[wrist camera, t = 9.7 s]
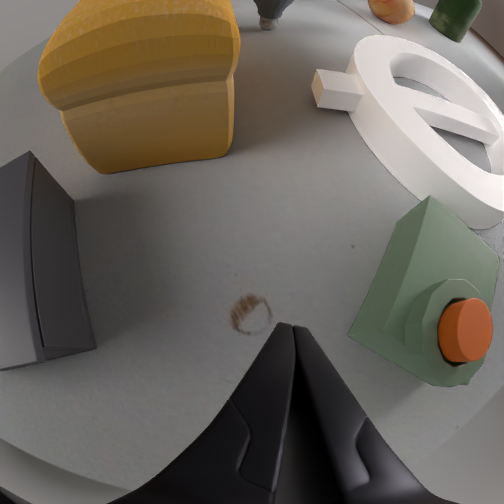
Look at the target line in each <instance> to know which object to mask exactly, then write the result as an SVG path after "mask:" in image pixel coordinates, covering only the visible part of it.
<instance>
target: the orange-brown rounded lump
mask: <svg viewBox="0 0 504 504" xmlns="http://www.w3.org/2000/svg"><path fill="white" fill-rule="evenodd" d="M368 4H369V7H370V9H371V11H372V12H373V14H374V15H376V16H377V17H379V18H380V19H382V20H384V21H386V22H387V23H390V24H402V23H405V22H407V21H409V20H410V19H411V18H412V17H413V16H414V14H415V7H414V4H413V1H412V0H368Z"/></svg>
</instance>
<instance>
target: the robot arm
mask: <svg viewBox="0 0 504 504" xmlns="http://www.w3.org/2000/svg"><path fill="white" fill-rule="evenodd" d="M366 416H367V415H366V413H365V412H364V410H363V409H362V408H361V406H360V405H359V403H358V402H357V400H356V399H355V397H354V396H353V394H352V393H351V391H350V390H349V388H348V387H347V385H346V384H345V383H344V381H343V380H342V378H341V377H340V375H339V374H338V372H337V371H336V369H335V368H334V366H333V365H332V363H331V362H330V361H329V359H328V358H327V356H326V355H325V353H324V352H323V350H322V349H321V347H320V346H319V344H318V343H317V341H316V340H315V339H314V337H313V336H312V334H311V333H310V331H309V330H308V329H307V328H306V327H301V326H296V325H294V326H292V325H291V324H287V323H282V322H279V323H277V325H276V327H275V328H274V330H273V331H272V333H271V335H270V336H269V338H268V339H267V341H266V343H265V344H264V346H263V347H262V349H261V351H260V352H259V354H258V355H257V357H256V358H255V360H254V361H253V363H252V365H251V366H250V368H249V369H248V371H247V372H246V374H245V375H244V377H243V378H242V380H241V381H240V383H239V384H238V386H237V387H236V389H235V390H234V392H233V393H232V395H231V396H230V398H229V400H227V402H226V403H225V405H224V406H223V407H222V409H221V410H220V412H219V413H218V414H217V416H216V417H215V418H214V419H213V421H212V422H211V423H210V425H209V426H208V427H207V428H206V429H205V430H204V431H203V432H202V433H201V434H200V435H199V436H198V437H197V438H196V440H195V441H193V442H192V443H191V444H190V445H189V446H188V447H187V448H186V449H185V450H184V451H183V452H182V453H181V454H180V455H179V456H178V457H176V458H175V459H174V460H173V461H172V462H171V463H170V464H169V465H168V466H167V467H165V468H164V469H163V470H162V471H161V472H160V473H159V474H157V475H156V476H155V477H154V478H152V479H151V480H150V481H148V482H147V483H145V484H144V485H143V486H141V487H139V488H138V489H136V490H134V491H132V492H130V493H128V494H126V495H124V496H122V497H120V498H118V499H116V500H114V501H112V502H110V503H107V504H458V503H455V502H451V501H448V500H444V499H442V498H439V497H437V496H435V495H434V494H432V493H431V492H429V491H428V490H427V489H426V488H425V487H424V486H423V485H422V484H421V483H420V482H419V481H418V480H417V479H416V477H415V476H414V475H413V474H412V473H411V472H410V470H409V469H408V468H407V467H406V466H405V465H404V463H403V462H402V461H401V460H400V459H399V458H398V457H397V455H396V454H395V453H394V452H393V450H392V449H391V448H390V447H389V445H388V444H387V443H386V442H385V440H384V439H383V438H382V436H381V435H380V433H379V432H378V431H377V429H376V428H375V426H374V425H373V424H372V422H371V421H370V419H369V418H368V417H366ZM0 504H31V503H30V502H27V501H26V500H24V499H22V498H20V497H18V496H16V495H15V494H13V493H11V492H10V491H8V490H6V489H4V488H3V487H0Z"/></svg>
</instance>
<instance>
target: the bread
mask: <svg viewBox="0 0 504 504" xmlns="http://www.w3.org/2000/svg"><path fill="white" fill-rule="evenodd" d="M240 47H241V45H240V32H239V29H238V25H237V22H236V18H235V15H234V11H233V8H232V5H231V1H230V0H80V1H79V2H78V3H77V4H76V5H75V6H74V8H73V9H72V10H71V11H70V12H69V13H68V14H67V16H66V17H65V18H64V19H63V21H62V22H61V23H60V25H59V26H58V28H57V29H56V31H55V32H54V33H53V35H52V36H51V38H50V40H49V42H48V44H47V45H46V47H45V49H44V51H43V53H42V56H41V60H40V63H39V67H38V78H37V81H38V85H39V88H40V91H41V93H42V95H43V96H44V97H45V99H46V100H47V101H48V102H49V103H50V104H51V105H52V106H53V107H55V108H57V109H59V110H60V115H61V119H62V122H63V124H64V126H65V128H66V130H67V132H68V134H69V136H70V138H71V140H72V142H73V143H74V145H75V147H76V148H77V150H78V151H79V153H80V154H81V156H82V157H83V158H84V160H85V161H86V162H87V163H88V164H89V165H91V166H92V167H93V168H94V169H95V170H97V171H98V172H99V173H101V174H110V173H115V172H120V171H126V170H131V169H137V168H143V167H149V166H156V165H163V164H170V163H177V162H185V161H193V160H202V159H212V158H219V157H222V156H224V155H226V153H227V152H228V151H229V148H230V146H231V143H232V138H233V125H234V79H233V74H234V72H235V69H236V67H237V64H238V59H239V54H240Z"/></svg>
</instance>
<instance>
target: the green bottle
mask: <svg viewBox="0 0 504 504" xmlns="http://www.w3.org/2000/svg"><path fill="white" fill-rule="evenodd" d="M481 7H482V2H481V0H439V2H438V4H437V5H436V8H435V9H434V11H433V13H432V15H431V17H430V19H429V22H430V23H431V24H432V25H433V26H434V27H435V28H436V29H437V30H438V31H440V32H441V33H442V34H444V35H445V36H447V37H448V38H450V39H452V40H454V41H456V42H461V40H462V39H463V37H464V35H465V34H466V32H467V31H468V29H469V27H470V26H471V24H472V22H473V21H474V19H475V17H476V16H477V14H478V12H479V11H480V9H481Z"/></svg>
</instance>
